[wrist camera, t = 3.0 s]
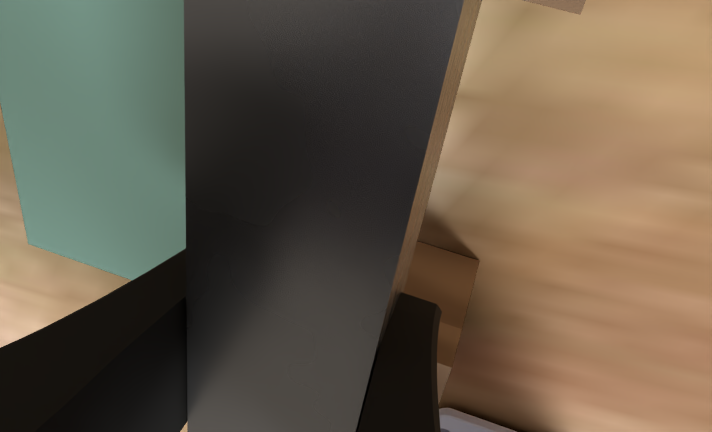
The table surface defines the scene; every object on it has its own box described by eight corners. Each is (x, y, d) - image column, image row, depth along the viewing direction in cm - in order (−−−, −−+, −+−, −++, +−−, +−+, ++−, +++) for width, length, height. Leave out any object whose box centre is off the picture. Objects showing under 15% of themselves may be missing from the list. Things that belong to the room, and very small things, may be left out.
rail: (337, 536, 16) (300, 649, 14) (239, 498, 16) (189, 604, 14) (554, -270, 6) (533, -278, 4) (304, -316, 7) (180, -344, 5)
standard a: (455, 329, 22) (426, 438, 18) (301, 277, 22) (245, 372, 19) (479, 261, 20) (451, 367, 16) (311, 207, 21) (251, 298, 17)
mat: (199, 295, 25) (194, 301, 24) (35, 237, 26) (28, 244, 25) (204, -463, 12) (193, -469, 12) (-106, -510, 14) (-123, -516, 13)
